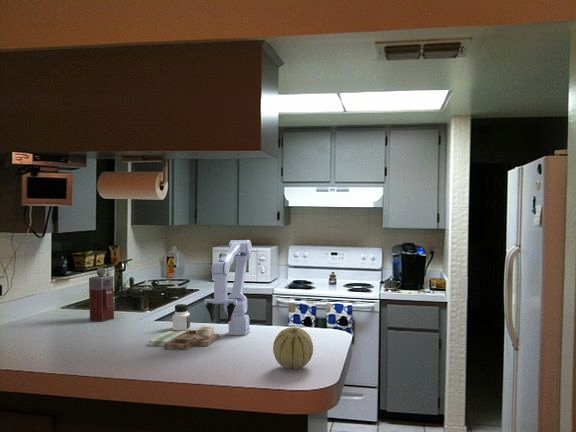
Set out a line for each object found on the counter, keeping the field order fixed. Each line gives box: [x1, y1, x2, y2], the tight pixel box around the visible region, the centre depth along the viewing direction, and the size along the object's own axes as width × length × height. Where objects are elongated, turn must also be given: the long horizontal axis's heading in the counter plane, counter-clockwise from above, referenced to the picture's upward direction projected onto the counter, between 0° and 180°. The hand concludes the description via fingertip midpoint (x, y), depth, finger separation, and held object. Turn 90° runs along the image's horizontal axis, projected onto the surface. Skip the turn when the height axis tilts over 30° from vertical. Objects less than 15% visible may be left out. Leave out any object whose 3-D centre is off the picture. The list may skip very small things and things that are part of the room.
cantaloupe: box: [272, 326, 314, 370], centre depth 187 cm, size 15×15×15 cm
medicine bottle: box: [172, 303, 191, 331], centre depth 254 cm, size 7×7×12 cm
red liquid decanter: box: [88, 267, 115, 323], centre depth 281 cm, size 9×11×28 cm
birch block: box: [195, 326, 215, 339], centre depth 228 cm, size 6×6×4 cm
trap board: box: [148, 329, 220, 350], centre depth 229 cm, size 26×26×2 cm
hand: (221, 320), depth 226 cm, fingers open, 7 cm apart
